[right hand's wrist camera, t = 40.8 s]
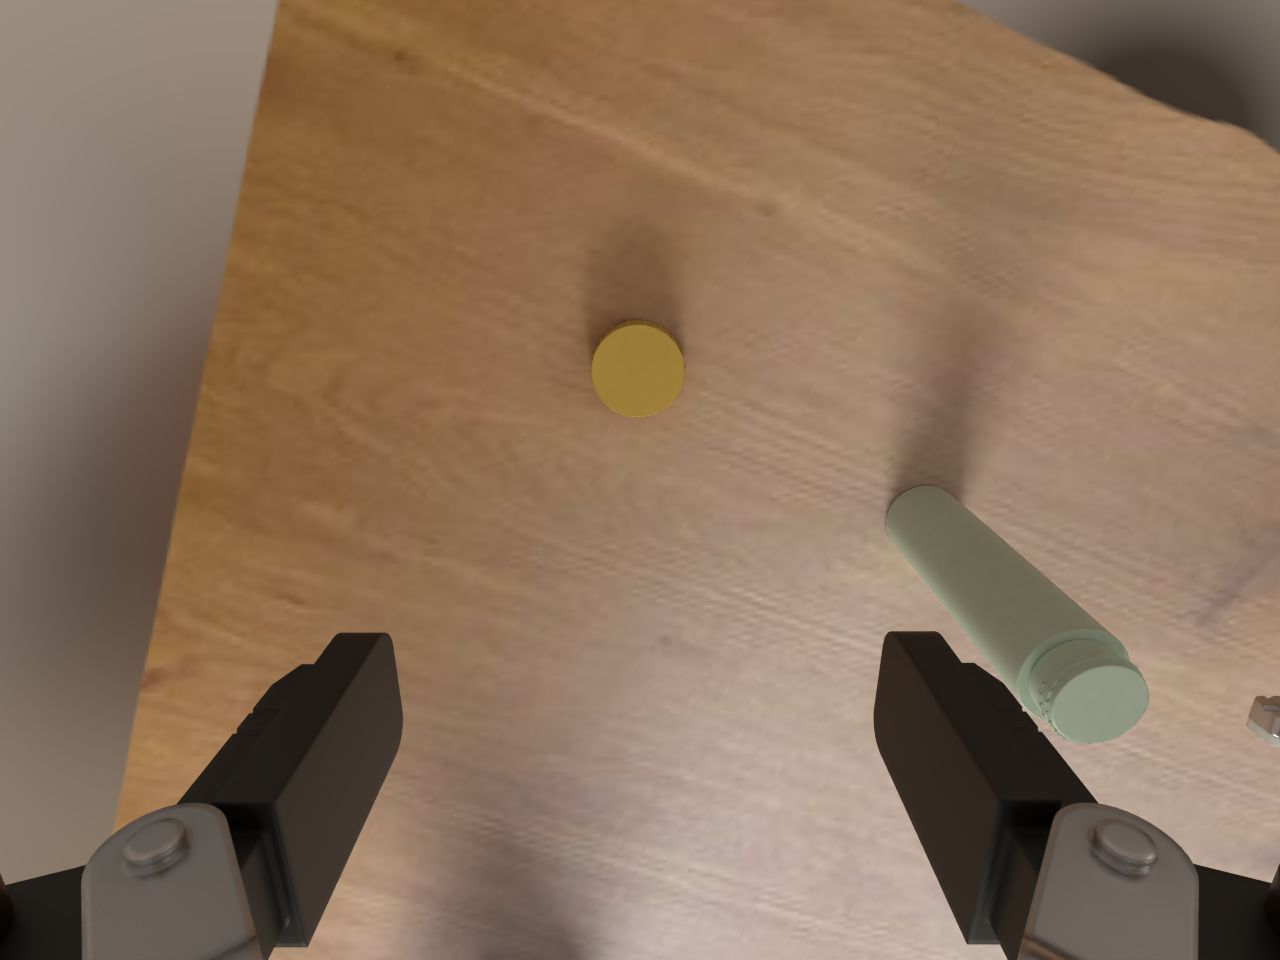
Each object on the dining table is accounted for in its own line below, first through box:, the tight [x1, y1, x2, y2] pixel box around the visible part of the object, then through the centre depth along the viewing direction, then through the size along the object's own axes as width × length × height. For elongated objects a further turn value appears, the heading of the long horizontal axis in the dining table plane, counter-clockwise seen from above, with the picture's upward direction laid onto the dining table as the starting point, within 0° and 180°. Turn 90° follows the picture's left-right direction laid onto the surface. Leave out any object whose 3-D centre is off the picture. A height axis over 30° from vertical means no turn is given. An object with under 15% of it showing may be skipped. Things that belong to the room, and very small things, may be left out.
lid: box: [590, 319, 686, 417], centre depth 36 cm, size 5×5×2 cm
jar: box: [886, 485, 1149, 744], centre depth 32 cm, size 4×4×16 cm
